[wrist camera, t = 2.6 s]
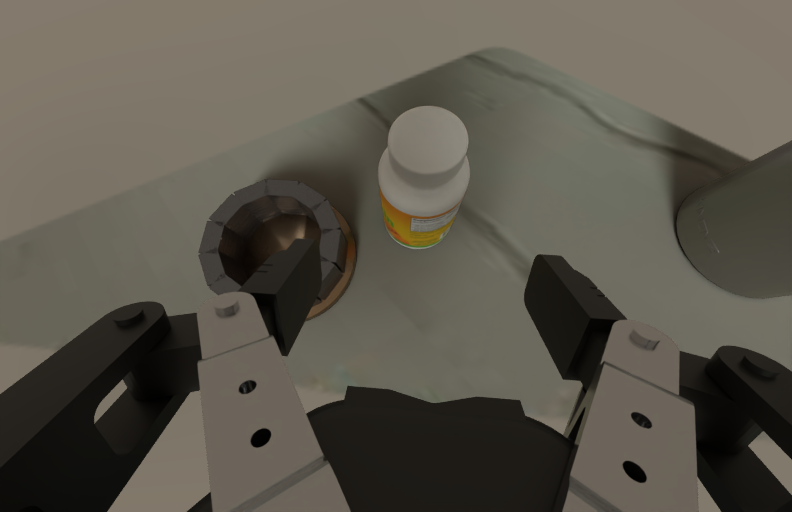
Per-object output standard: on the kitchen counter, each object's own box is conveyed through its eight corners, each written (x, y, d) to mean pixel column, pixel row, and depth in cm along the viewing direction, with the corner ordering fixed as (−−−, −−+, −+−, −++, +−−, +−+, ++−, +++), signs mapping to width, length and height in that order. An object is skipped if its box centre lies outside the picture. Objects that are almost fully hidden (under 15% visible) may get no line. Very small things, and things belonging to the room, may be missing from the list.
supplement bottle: (378, 194, 24) (365, 102, 15) (442, 183, 25) (468, 85, 15) (390, 256, 23) (382, 196, 14) (458, 244, 23) (497, 175, 14)
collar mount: (363, 203, 24) (355, 177, 20) (347, 329, 21) (336, 326, 18) (243, 196, 25) (214, 168, 21) (212, 319, 22) (172, 313, 18)
